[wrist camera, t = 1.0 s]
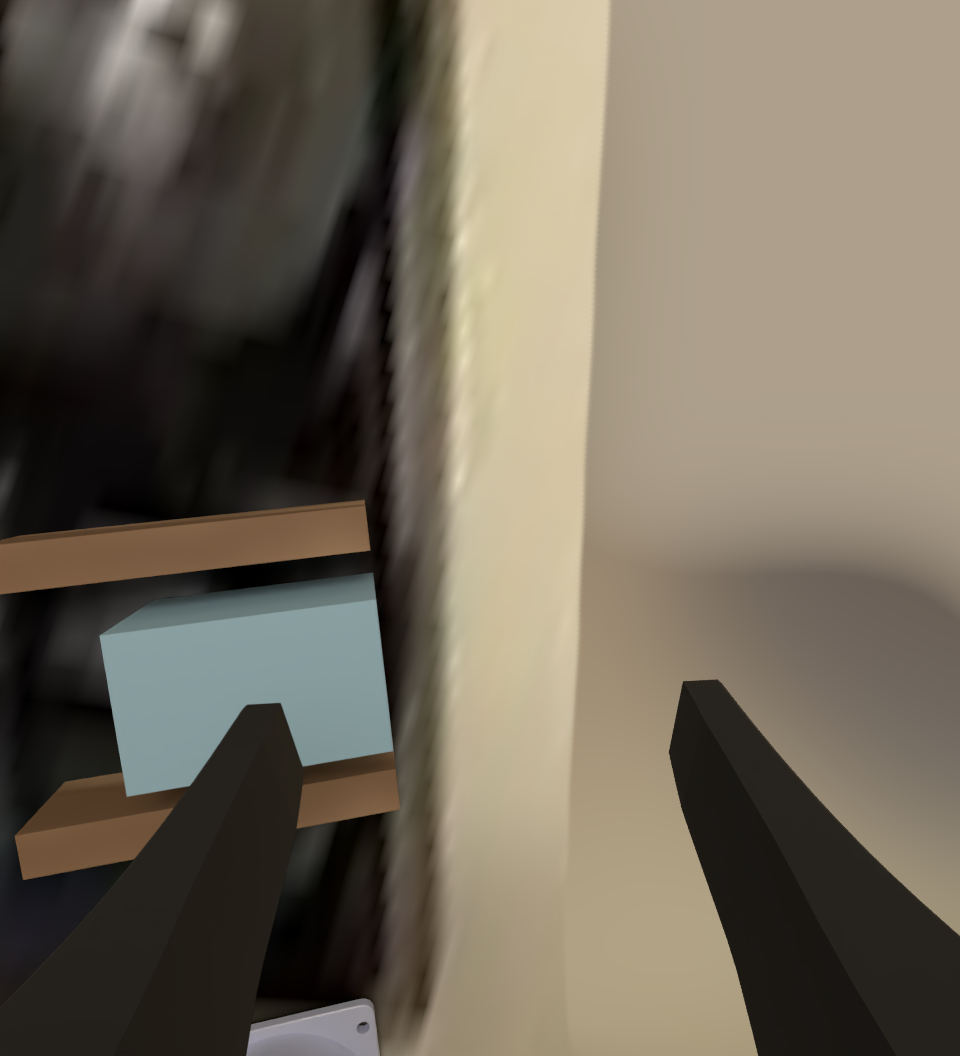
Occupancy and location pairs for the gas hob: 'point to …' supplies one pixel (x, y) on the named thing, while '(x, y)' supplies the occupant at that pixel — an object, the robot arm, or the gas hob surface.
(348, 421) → the gas hob surface
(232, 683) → the block
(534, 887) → the gas hob surface
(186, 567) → the chute
